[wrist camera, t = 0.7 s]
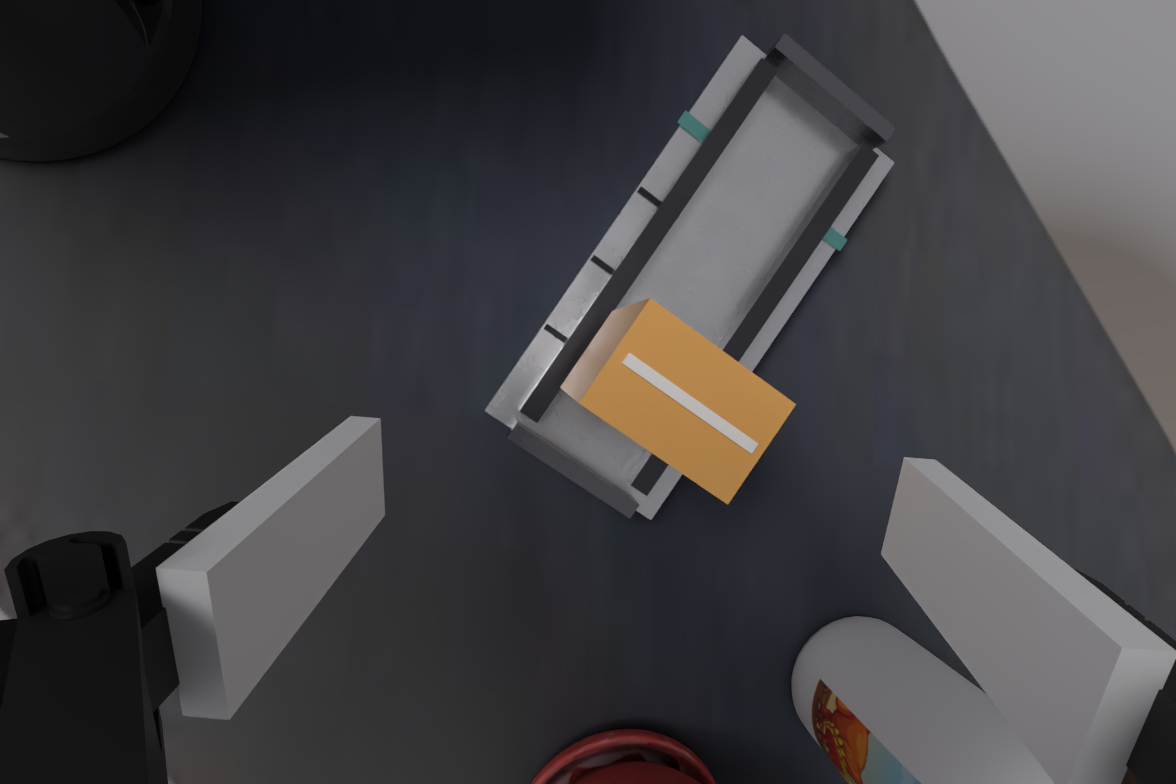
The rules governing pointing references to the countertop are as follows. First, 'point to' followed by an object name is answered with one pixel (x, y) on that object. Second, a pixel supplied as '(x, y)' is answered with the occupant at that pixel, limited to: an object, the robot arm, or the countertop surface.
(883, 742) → the milk bottle
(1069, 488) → the countertop surface
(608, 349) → the fader knob
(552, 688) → the countertop surface
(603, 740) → the plant pot
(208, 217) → the countertop surface
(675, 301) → the fader strip
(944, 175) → the countertop surface
